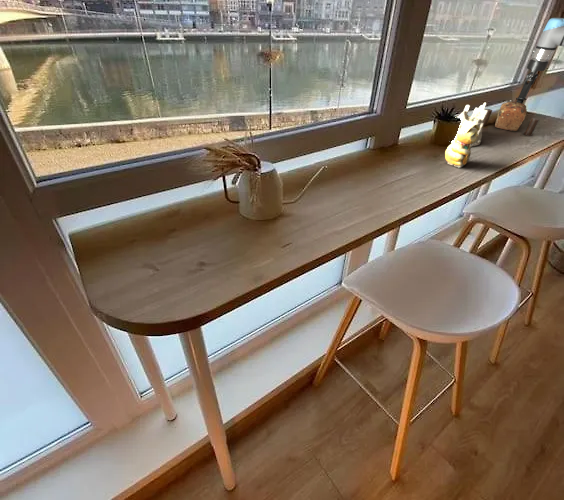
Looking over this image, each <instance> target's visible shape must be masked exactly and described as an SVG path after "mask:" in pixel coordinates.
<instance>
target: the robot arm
mask: <svg viewBox="0 0 564 500" xmlns="http://www.w3.org/2000/svg"><path fill="white" fill-rule="evenodd" d="M558 46H559V47H564V18H563V17H551V18H549V20H547V23H546V24H545V27H544V29H543V30H542V32H541V34H540V37H539V40H538V42H537V44H536V46H535V49H532V55H531V59H529V61H528V63H527V65H526V70H530V72H528V73H527V75H526V77H525V80H524V82H523V86H522V88H521V91H520V92H519V94H518V97H516V98H515V100H516V102H519V103H522V104H524V102H525V101H527V96H528V93H529V92H530V90H531V88H532V86H533V85H534V83H535V81H536V79H538V76H539V74H538V72H544V71H546V69H547V67H548V65H549V63H550V62H549V61H551V59H552V57H553V55H554V54H555V52H556V49H557V47H558Z"/></svg>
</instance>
